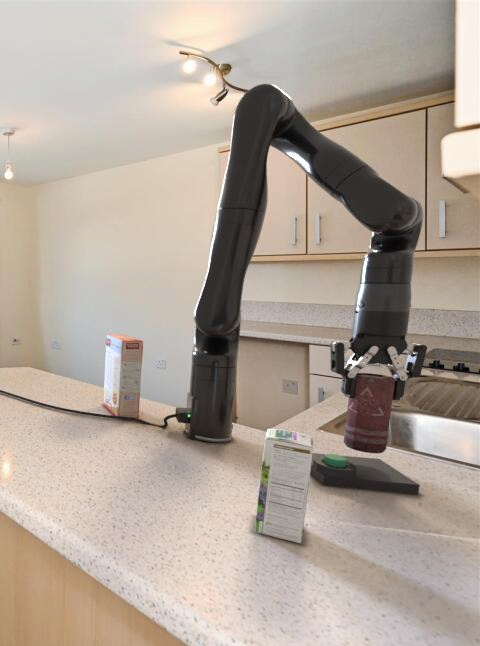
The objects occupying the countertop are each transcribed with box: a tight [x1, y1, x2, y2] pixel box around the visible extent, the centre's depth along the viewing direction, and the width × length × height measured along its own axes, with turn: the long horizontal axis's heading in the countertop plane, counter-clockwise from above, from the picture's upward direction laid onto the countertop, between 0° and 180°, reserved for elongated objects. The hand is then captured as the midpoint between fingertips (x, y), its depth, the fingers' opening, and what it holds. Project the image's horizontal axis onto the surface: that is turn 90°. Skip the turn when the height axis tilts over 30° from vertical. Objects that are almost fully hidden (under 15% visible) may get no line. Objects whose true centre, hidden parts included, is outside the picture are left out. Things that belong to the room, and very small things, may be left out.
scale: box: [310, 452, 420, 496], centre depth 87 cm, size 15×13×4 cm
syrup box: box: [254, 428, 314, 544], centre depth 68 cm, size 6×6×14 cm
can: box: [343, 372, 395, 454], centre depth 87 cm, size 6×6×14 cm
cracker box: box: [102, 333, 144, 419], centre depth 128 cm, size 14×6×21 cm, turn 179°
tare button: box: [324, 453, 347, 468], centre depth 85 cm, size 3×3×2 cm
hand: (370, 397), depth 87 cm, fingers closed on can, 6 cm apart
